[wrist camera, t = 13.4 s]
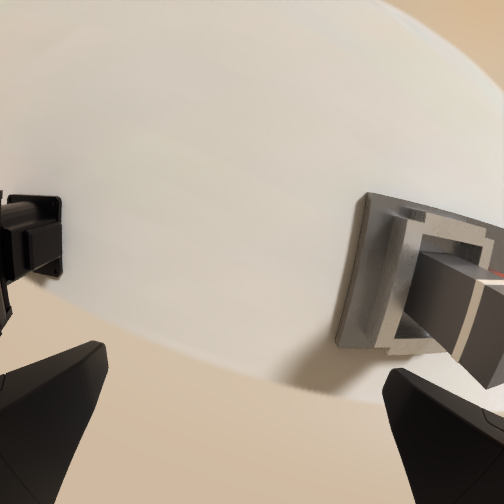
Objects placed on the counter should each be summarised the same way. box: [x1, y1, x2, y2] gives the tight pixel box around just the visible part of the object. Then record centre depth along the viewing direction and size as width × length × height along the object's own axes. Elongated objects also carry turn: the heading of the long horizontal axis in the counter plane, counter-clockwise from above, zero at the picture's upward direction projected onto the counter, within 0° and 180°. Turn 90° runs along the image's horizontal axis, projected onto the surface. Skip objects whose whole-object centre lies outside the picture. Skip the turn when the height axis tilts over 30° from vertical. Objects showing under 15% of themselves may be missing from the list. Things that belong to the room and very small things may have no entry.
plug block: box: [404, 251, 504, 390], centre depth 15 cm, size 4×5×11 cm
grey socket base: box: [335, 192, 504, 356], centre depth 20 cm, size 18×12×3 cm, turn 83°
